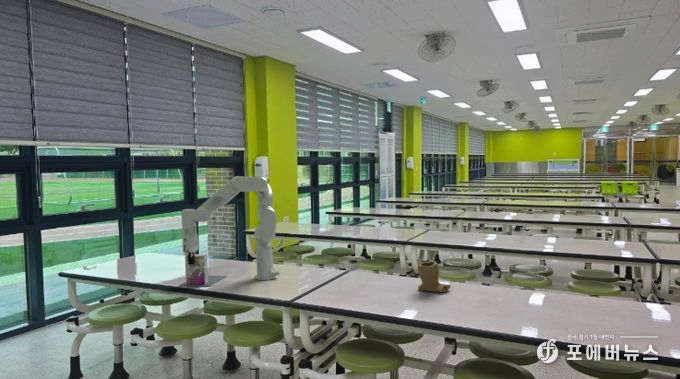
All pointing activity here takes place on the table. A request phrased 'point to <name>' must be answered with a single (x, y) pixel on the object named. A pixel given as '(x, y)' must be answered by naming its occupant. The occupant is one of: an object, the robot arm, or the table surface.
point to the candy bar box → (197, 270)
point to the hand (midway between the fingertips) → (191, 264)
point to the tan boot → (430, 277)
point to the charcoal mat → (211, 281)
